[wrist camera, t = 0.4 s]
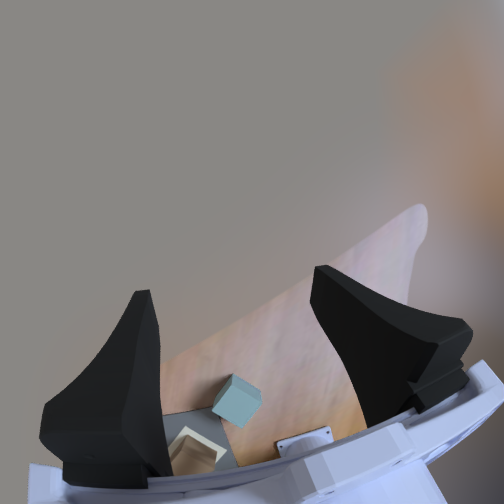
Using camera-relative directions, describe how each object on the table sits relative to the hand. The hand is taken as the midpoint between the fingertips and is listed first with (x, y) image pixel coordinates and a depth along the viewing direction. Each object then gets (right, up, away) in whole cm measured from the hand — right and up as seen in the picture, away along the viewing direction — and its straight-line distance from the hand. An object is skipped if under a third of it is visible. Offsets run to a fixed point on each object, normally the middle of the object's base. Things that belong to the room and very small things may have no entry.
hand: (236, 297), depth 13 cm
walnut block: (-8, -27, +23) cm, 36 cm away
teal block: (-1, -17, +25) cm, 30 cm away
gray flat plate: (-8, -27, +23) cm, 37 cm away
